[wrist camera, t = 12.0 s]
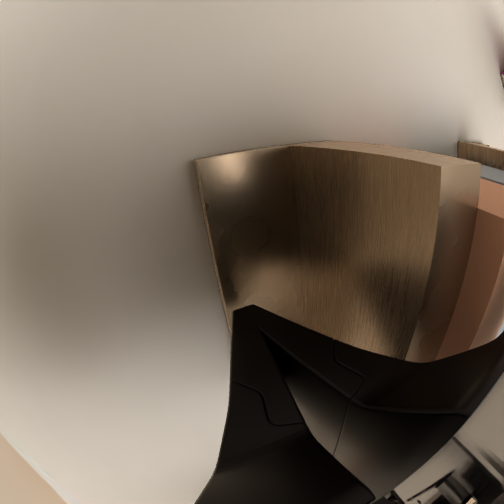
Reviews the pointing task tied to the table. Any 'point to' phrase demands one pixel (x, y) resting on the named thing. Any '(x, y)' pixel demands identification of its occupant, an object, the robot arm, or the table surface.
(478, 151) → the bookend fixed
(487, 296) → the rust book
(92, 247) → the table surface
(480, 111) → the table surface
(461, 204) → the bookend slide
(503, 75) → the candy bar box
